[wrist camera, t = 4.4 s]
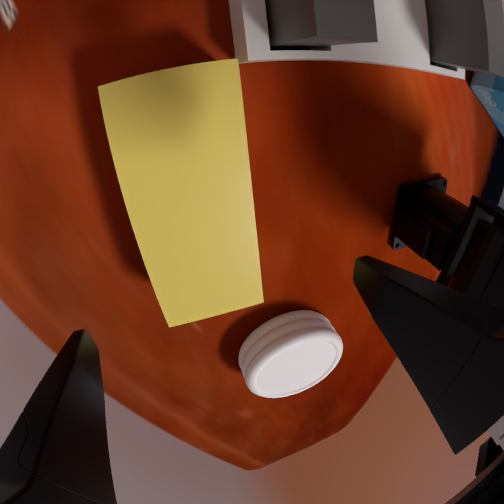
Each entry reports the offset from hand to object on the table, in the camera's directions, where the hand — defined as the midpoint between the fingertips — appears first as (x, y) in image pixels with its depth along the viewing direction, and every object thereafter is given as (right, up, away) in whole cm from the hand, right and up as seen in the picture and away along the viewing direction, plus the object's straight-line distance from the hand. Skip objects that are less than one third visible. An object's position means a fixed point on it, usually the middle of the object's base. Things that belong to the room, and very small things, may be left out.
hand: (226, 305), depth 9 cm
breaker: (+14, +20, +3) cm, 25 cm away
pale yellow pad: (-3, +6, +9) cm, 11 cm away
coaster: (+4, -8, +20) cm, 22 cm away
